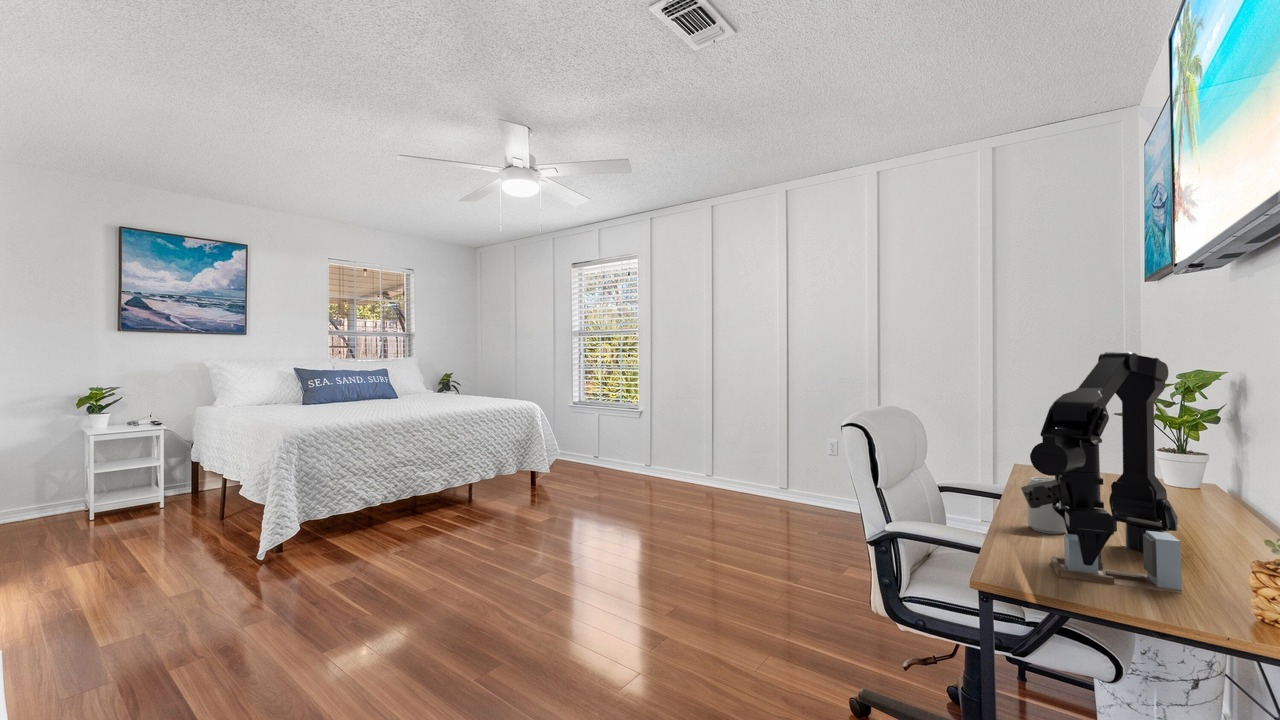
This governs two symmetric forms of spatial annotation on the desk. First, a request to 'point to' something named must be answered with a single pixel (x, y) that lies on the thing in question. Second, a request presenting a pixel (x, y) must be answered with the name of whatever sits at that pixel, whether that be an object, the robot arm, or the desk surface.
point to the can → (1045, 514)
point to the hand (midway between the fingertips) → (1081, 556)
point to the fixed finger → (1162, 559)
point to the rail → (1108, 576)
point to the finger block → (1078, 557)
